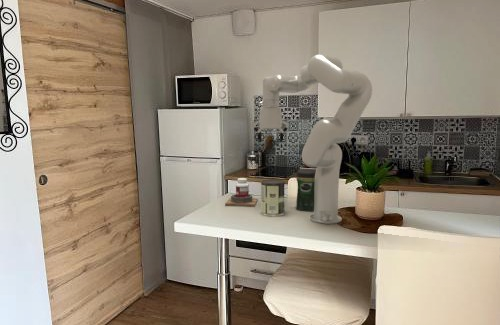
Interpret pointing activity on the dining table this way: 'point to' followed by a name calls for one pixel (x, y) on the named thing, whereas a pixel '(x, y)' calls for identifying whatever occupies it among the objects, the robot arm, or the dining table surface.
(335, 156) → the robot arm
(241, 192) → the pill bottle
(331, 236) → the dining table surface
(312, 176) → the coffee jar
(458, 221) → the dining table surface
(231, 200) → the dish on wooden board
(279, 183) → the coffee can
